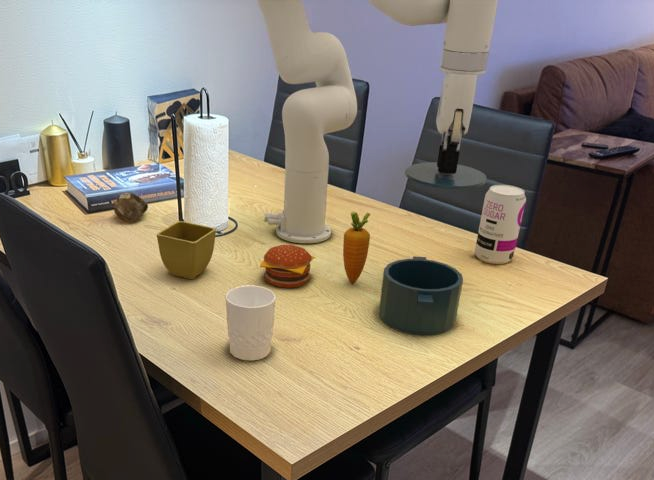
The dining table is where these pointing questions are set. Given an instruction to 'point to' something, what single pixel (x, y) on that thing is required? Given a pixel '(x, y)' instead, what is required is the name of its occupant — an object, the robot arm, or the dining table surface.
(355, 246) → the carrot
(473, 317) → the dining table surface
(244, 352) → the white cup
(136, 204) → the fossilized seashell
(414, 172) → the pot lid
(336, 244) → the dining table surface
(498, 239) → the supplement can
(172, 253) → the flower pot
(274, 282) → the hamburger
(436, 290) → the pot
